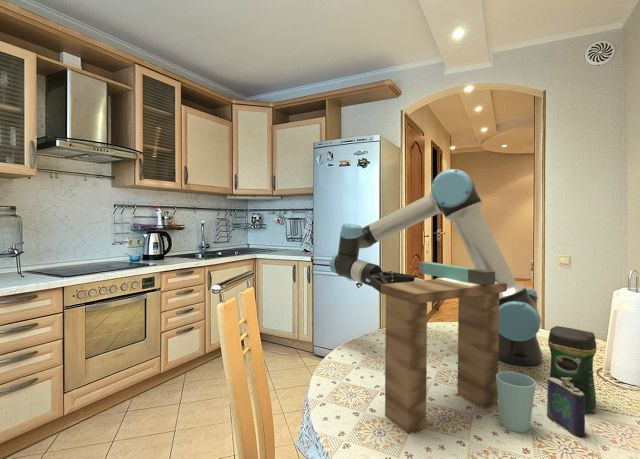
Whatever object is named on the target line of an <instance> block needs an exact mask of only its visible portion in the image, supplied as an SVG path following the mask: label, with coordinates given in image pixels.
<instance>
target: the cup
mask: <svg viewBox="0 0 640 459" xmlns="http://www.w3.org/2000/svg"><path fill="white" fill-rule="evenodd" d="M496 383H497V392H498V408H499V411H498V412H499V420H500V424H501V426H503V427H504V428H505V429H506V430H509V431H512V432H514V433H521V434H522V433H527V432H529V430H530V427H531V426H530V425H531V419H532V413H533V404H534V398H535V390H536V385H537V384H536V381H535V380H534V378H532V377H531V376H528V375H526V374H523V373H519V372H514V371H501V372H499V371H498V373H497V374H496Z"/></svg>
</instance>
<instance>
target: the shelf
mask: <svg viewBox="0 0 640 459" xmlns="http://www.w3.org/2000/svg"><path fill="white" fill-rule="evenodd" d="M422 280H423V281H413V282H402V283H392V284H381V292H380V294H383V295H385V343H384V344H385V346H384V347H385V354H384V356H385V360H384V361H385V362H384V364H385V366H384V367H385V368H384V369H385V370H384V374H385V375H384V380H385V382H384V386H385V387H384V388H385V389H384V390H385V391H384V395H385V396H384V416H385V418H388V419H389V420H391V421H392V423H393V424H395V425H396V426H398V427H399V428H400V429H401V430H403V431H404V432H405V433H407V434H411V433H413V432H414V433H415V432H417V431H420V430H423V429H426V428H427V373H428V371H427V369H428V368H427V366H428V365H427V364H428V358H427V356H428V355H427V354H428V347H427V345H428V335H427V334H428V303H430V302H432V303H433V302H438V301H439V302H440V301H445V300H447V301H448V300H455V299H458V303H457V304H458V310H457V311H458V313H457V314H458V317H457V318H458V320H457V323H458V324H457V325H458V326H457V328H458V329H457V334H458V335H457V395H458V396H459V397H462V398H464V399H466V400H467V401H469V402H471V403H473V404H475V405H476V406H479V407H480V408H482V409H486V408H489V407H492V406H496V405H499V402H498V392H497V383H496V374H497V373H499V360H498V359H499V293H501V292H507V283H502V282H496V281H495V285H487V286H485V285H480V284H475V283H469V282H464V281H459V280H454V279H448V278H443V277H437V278H435V279H427V280H426V279H422Z"/></svg>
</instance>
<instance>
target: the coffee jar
mask: <svg viewBox="0 0 640 459" xmlns="http://www.w3.org/2000/svg"><path fill="white" fill-rule="evenodd" d="M548 334H549V335H548V340H547V343H548V344H547V346H548V347H549V350H550V351H549V352H550V368H549V369H550V371H549V377H548V378H550V377H553V378H556V379H559V380H561V381H563V380H562V379H561V377H563V378H567V377H569V378H572V379H570V382H571V383H572V384H573V385H574V386H573V387H575V388H577V389H579V390H580V391H581V392H582V393H584V395H585V413H591V412H593V411H594V410H596V408H597V397H596V387H595V381H594V380H595V379H594V369H593V368H594V366H593V365H594V357H595V354H596V353H597V349H598V348H597V341H596V336H595V333H594V332H592V331H586V330H581V329H576V328H572V327H571V328H570V327H565V326H560V325H556V326H554V327H551V328H550V330H549V333H548Z"/></svg>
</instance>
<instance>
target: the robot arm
mask: <svg viewBox="0 0 640 459" xmlns="http://www.w3.org/2000/svg"><path fill="white" fill-rule="evenodd" d="M482 205H483V201H482V199H481V197H480V195H479V194H478V192H477V189H476V185H475V182H474V181H473V179H472V178H471V177H470V176H469V174H468V173H466V172H465V171H463V170H460V169H458V168H457V169H456V168H455V169H453V168H450V169H445V170H443V171H441V172H440V173H439V174H437V175H436V177H435V178H434V179H433V180H432V184H431V188H430V191H429V194H427V195H425V196H423V197H421V198H419V199H418V200H415V201H413V202H411V203H409V204H408V205H406V206H404V207H402V208H399V209H398V210H396V211H393V212H392V213H389V214H388V215H385V216H384V217H382V218H380V219H377V220H376V221H374V222H372V223H370V224H367V225H366V226H364V227H362V226H361V225H360V224H355V223H343V224H342V226H341V229H340V233H339V234H340V235H339V242H338V250H337V251H338V252H337V253H336V254H334V255H333V256H331V259H330V261H329V269H330V271H331V272H332V273H334V274H335V275H338V276H340V277H344V278H346V279H349V280H352V281H355V282H357V283H358V284H364V285H366V286H370V287H372V288H373V289H375V290H376V291H377V292H379V293H381V284H392V283H402V282H413V281H423V280H424V279H421V278H419V277H418V275H416V274H407V273H400V272H395V271H390V270H389V271H382V268H381V266H380V265H378V264H375V263H371V262H368V261H365V260H361V259H359V254H360V253H359V252H360V250H361V249H367V248H370V247H372V246H373V245H375V244H376V243H378V242H380V241H383V240H384V239H385V240H386V239H387V238H389V237H391V236H393V235H395V234H397V233H399V232H400V233H401V231H404V230H406V229H408V228H411V227H412V226H414V225H417V224H418V223H421V222H423V221H426V220H427V219H430V218H432V217H434V216H437V215H438V214H442V215H443V216H444V217H445V220H449V221H451V222H452V223H453V225H454V227H455V229H456V231H457V234H458V235H459V237H460V240H461V241H462V243H463V245H464V248H465V249H466V251H467V253H468V255H469V258H470V260H471V262H472V264H473V266H474V269H481V270H488V271H495V281H496V282H502V283H507V292H501V293H499V359H498V361H500V362H503V363H506V364H510V365H515V366H525V367H528V366H529V367H530V366H531V367H532V366H533V367H534V366H537V365H541V364H542V363H543V353H542V350H541V346H540V343H539V341H538V338H537V334H538V333H539V330H540V328H541V325H542V324H541V322H542V318H541V316H540V314H539V311H538V299H539V296H538V293H537V290H536V289H533V288H529V287H527V288H526V286H525V285H523V284H520V283H518V281H516V278H515V277H514V275H513V273H512V270H511V268H510V267H509V264H508V263H507V261H506V259H505V257H504V255H503V253H502V250H501V248H500V247H499V245H498V242H497V241H496V239H495V237H494V235H493V233H492V231H491V228H490V227H489V225H488V223H487V221H486V219H485V217H484V215H483V213H482V211H481V207H482Z"/></svg>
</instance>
